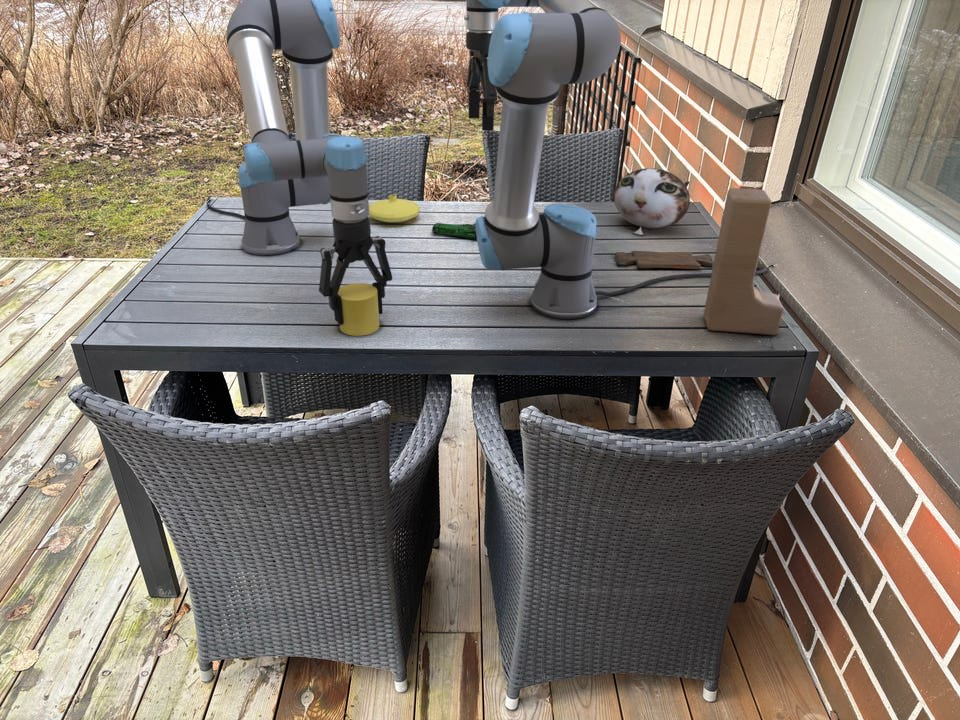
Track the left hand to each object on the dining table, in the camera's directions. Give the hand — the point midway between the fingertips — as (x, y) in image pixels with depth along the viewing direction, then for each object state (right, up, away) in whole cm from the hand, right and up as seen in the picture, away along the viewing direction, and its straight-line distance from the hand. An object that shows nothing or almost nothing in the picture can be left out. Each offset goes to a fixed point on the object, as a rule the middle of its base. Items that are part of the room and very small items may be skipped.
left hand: (359, 316), depth 156 cm
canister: (0, -2, +1) cm, 2 cm away
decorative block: (+84, -2, +4) cm, 84 cm away
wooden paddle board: (+75, +16, +34) cm, 84 cm away
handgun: (+23, +28, +52) cm, 64 cm away
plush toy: (+76, +30, +57) cm, 100 cm away
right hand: (+27, +50, +23) cm, 61 cm away
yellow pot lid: (0, +33, +61) cm, 69 cm away
